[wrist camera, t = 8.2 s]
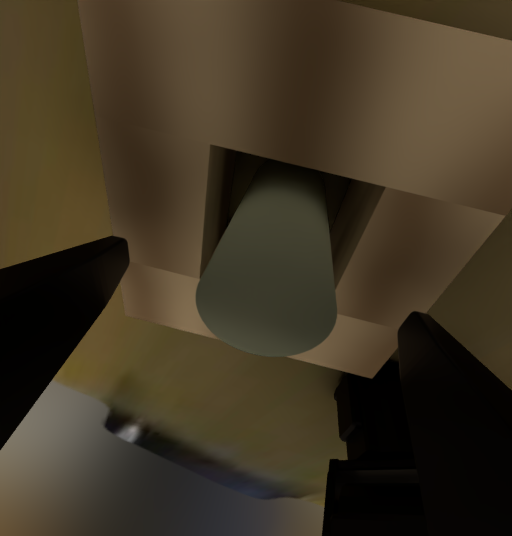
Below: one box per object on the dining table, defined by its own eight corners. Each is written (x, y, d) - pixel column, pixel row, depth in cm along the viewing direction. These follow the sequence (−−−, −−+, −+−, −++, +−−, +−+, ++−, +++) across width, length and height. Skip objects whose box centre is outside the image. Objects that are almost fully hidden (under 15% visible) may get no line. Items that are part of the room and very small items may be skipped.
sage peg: (336, 165, 14) (362, 275, 7) (311, 234, 16) (311, 368, 9) (258, 146, 14) (199, 235, 7) (245, 217, 16) (192, 338, 9)
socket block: (509, 66, 11) (627, 67, 7) (359, 313, 19) (372, 378, 15) (157, -16, 11) (67, -63, 7) (163, 264, 19) (125, 315, 15)
